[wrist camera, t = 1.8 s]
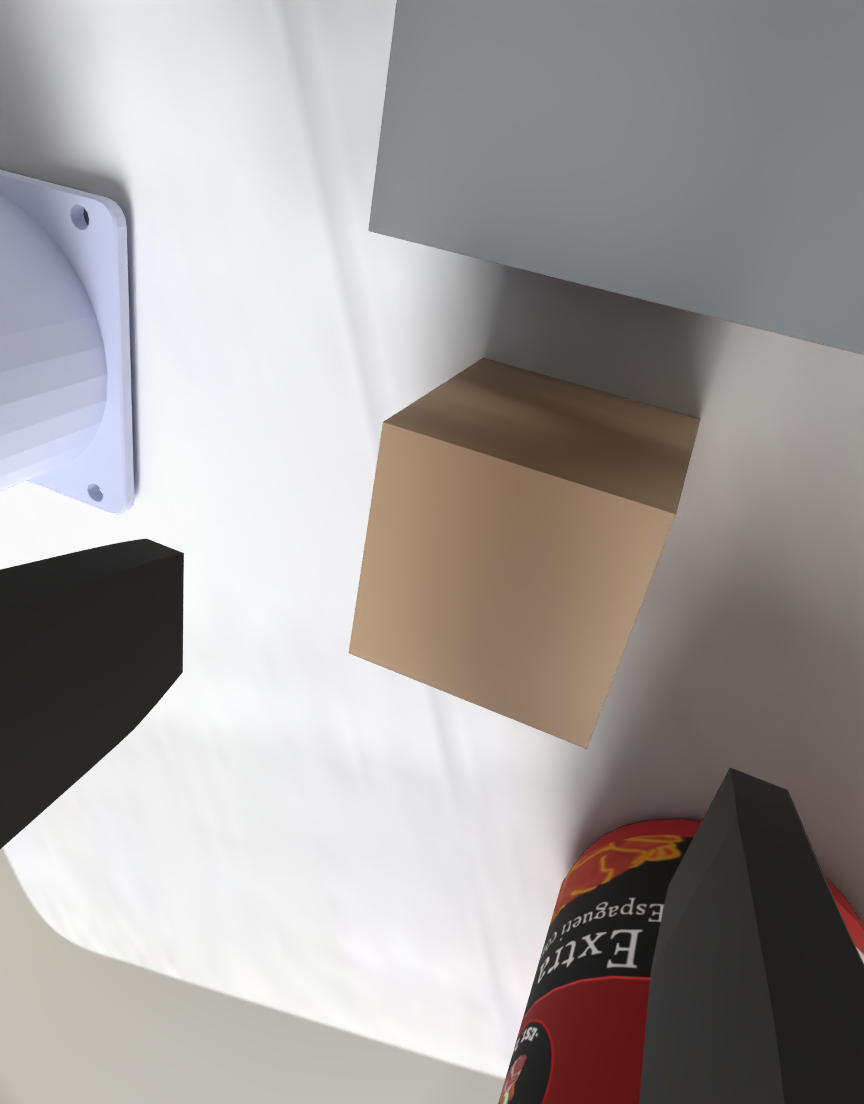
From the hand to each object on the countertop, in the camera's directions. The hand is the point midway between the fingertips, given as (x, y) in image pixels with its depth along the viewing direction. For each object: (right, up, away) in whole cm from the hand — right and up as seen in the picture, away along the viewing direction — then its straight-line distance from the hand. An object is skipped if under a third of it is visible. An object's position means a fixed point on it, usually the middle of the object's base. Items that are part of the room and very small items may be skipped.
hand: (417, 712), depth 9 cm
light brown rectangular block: (+3, +3, +7) cm, 8 cm away
